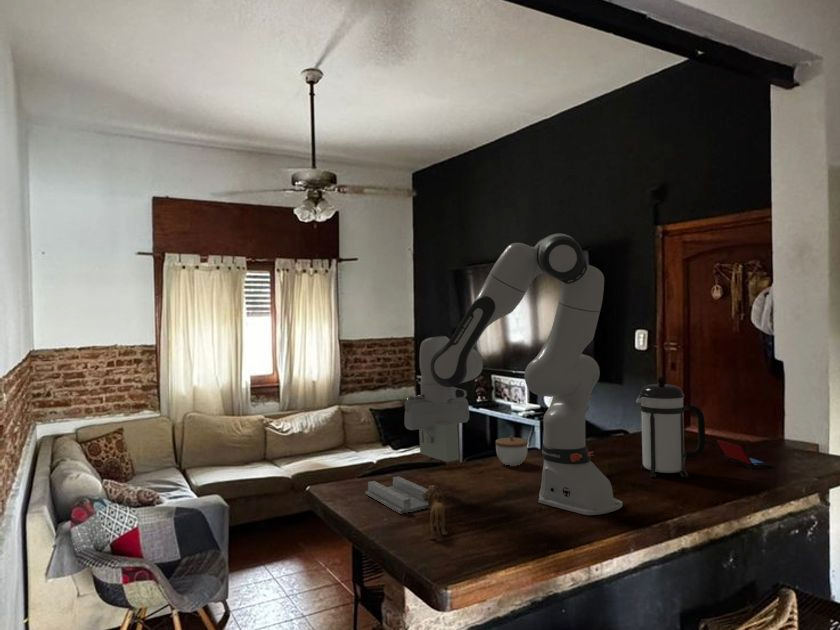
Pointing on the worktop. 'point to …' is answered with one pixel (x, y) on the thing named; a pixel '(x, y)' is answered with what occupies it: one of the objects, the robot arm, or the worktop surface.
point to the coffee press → (666, 428)
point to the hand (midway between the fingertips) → (438, 441)
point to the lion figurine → (436, 509)
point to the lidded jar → (511, 450)
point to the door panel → (441, 442)
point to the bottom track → (413, 502)
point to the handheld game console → (740, 455)
